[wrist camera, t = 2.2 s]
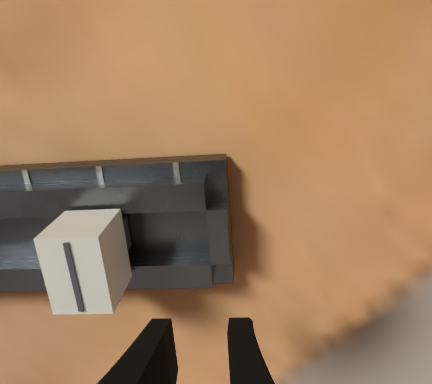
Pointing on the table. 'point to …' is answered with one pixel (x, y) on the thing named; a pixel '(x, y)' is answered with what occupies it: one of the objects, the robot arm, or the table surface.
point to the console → (136, 215)
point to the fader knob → (85, 260)
